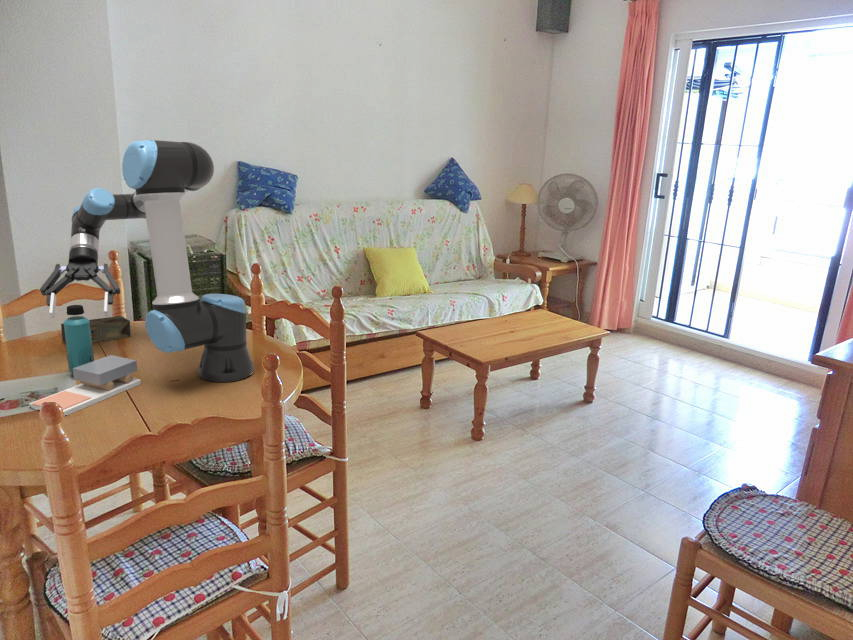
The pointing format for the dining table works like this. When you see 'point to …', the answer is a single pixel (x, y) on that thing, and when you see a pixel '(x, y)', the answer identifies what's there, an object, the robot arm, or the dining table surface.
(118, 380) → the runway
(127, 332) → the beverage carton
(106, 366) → the slab
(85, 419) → the dining table surface
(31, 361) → the dining table surface
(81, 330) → the beverage bottle
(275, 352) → the dining table surface
